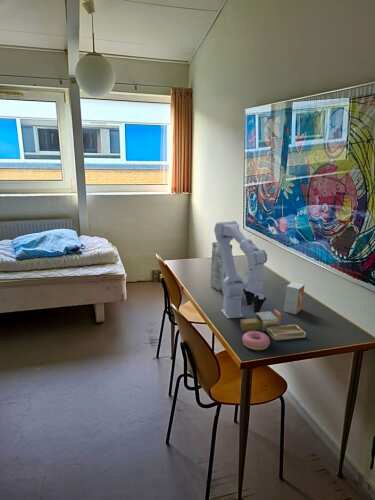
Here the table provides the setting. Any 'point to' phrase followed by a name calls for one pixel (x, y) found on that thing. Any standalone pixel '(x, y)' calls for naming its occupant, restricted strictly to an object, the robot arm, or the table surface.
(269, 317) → the socket sleeve
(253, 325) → the olive rectangular pillar
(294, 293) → the small box
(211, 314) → the table surface
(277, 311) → the salmon pink block
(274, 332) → the beige tray
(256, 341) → the doughnut
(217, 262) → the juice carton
